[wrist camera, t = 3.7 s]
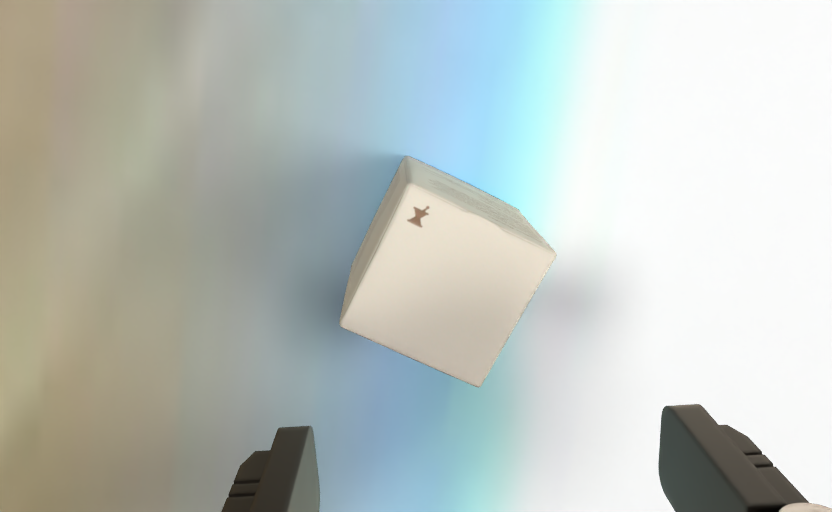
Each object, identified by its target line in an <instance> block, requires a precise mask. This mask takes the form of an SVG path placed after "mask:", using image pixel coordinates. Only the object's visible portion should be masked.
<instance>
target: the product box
mask: <svg viewBox="0 0 832 512" xmlns="http://www.w3.org/2000/svg"><path fill="white" fill-rule="evenodd" d="M556 256H557V255H556V253H555V251H554V250H553V249H552V248H551V247H550V245H549V244H548V243H547V242H546V241H545V240H544V238H543V237H542V236H541V235H540V234H539V233H538V232H537V231H536V230H535V229H534V228H533V226H532V225H531V224H530V223H529V222H528V221H527V220H526V218H525V217H524V216H523V215H522V214H521V213H520V211H519V210H518V209H517V208H515V207H513V206H511V205H509V204H507V203H506V202H504V201H502V200H500V199H498V198H496V197H494V196H492V195H490V194H488V193H486V192H484V191H482V190H480V189H478V188H476V187H474V186H472V185H470V184H468V183H465V182H463V181H461V180H459V179H457V178H455V177H453V176H451V175H449V174H447V173H444V172H442V171H440V170H438V169H436V168H434V167H432V166H430V165H427V164H425V163H423V162H421V161H419V160H416V159H414V158H412V157H410V156H405V157H404V158H403V160H402V162H401V164H400V166H399V168H398V170H397V172H396V174H395V176H394V178H393V180H392V182H391V184H390V186H389V188H388V190H387V192H386V194H385V196H384V198H383V200H382V202H381V204H380V206H379V208H378V210H377V212H376V214H375V216H374V218H373V220H372V223H371V225H370V227H369V229H368V231H367V233H366V235H365V238H364V240H363V242H362V244H361V246H360V248H359V250H358V252H357V255H356V257H355V259H354V261H353V263H352V265H351V271H350V276H349V279H348V283H347V288H346V293H345V297H344V302H343V307H342V311H341V316H340V321H339V324H340V326H341V327H342V328H344V329H346V330H349V331H351V332H353V333H356V334H358V335H360V336H362V337H365V338H367V339H369V340H371V341H373V342H376V343H378V344H380V345H382V346H385V347H387V348H389V349H391V350H394V351H396V352H398V353H400V354H402V355H405V356H407V357H409V358H411V359H414V360H416V361H418V362H421V363H423V364H425V365H427V366H430V367H432V368H434V369H437V370H439V371H441V372H443V373H446V374H448V375H450V376H453V377H455V378H457V379H460V380H462V381H464V382H467V383H469V384H471V385H473V386H476V387H480V386H481V385H482V383H483V381H484V380H485V378H486V376H487V375H488V373H489V371H490V369H491V368H492V366H493V364H494V362H495V360H496V359H497V357H498V355H499V354H500V352H501V350H502V348H503V347H504V345H505V343H506V341H507V340H508V338H509V336H510V334H511V332H512V331H513V329H514V327H515V325H516V324H517V322H518V320H519V319H520V317H521V315H522V313H523V312H524V310H525V308H526V306H527V305H528V303H529V301H530V300H531V298H532V296H533V294H534V293H535V291H536V289H537V288H538V286H539V284H540V282H541V281H542V279H543V277H544V276H545V274H546V272H547V271H548V269H549V267H550V266H551V264H552V262H553V261H554V259H555V258H556Z"/></svg>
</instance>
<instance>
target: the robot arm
mask: <svg viewBox="0 0 832 512" xmlns="http://www.w3.org/2000/svg"><path fill="white" fill-rule="evenodd" d="M659 476H660V481H661V485H662V488H663V491H664V493H665V495H666V497H667V499H668V500H669V502H670V503H671V505H672V507H673V508H674V510H675V512H832V509H831V508H828V507H825V506H822V505H818V504H812V503H809V502H808V501H807V500H806V499H805V498H804V497H803V496H802V495H801V493H800V492H799V491H798V490H797V489H796V488H795V487H794V486H793V485H792V484H791V483H790V482H789V481H788V480H787V478H786V477H785V476H784V475H783V474H782V473H781V472H780V471H779V470H778V469H777V468H776V467H773V463H772V462H771V461H770V460H769V459H768V458H767V457H766V456H765V455H762V452H761V450H760V449H759V448H758V447H757V446H756V445H755V444H754V443H753V442H752V441H751V440H750V439H749V438H748V437H747V436H745V435H744V434H742V433H740V432H738V431H737V430H735V429H733V428H731V427H730V426H728V425H718V424H717V423H716V421H715V420H714V419H713V418H712V417H711V416H710V415H709V413H708V412H707V411H706V410H705V409H704V408H703V407H702V406H701V405H699V404H694V405H676V406H665V407H664V409H663V411H662V417H661V434H660V450H659ZM319 507H320V487H319V477H318V468H317V459H316V450H315V442H314V434H313V429H312V427H311V426H300V427H282V428H278V430H277V433H276V436H275V439H274V441H273V444H272V447H271V450H269V451H255V452H254V453H253V454H252V455H251V456H250V457H249V458H248V459H247V460H246V461H245V462H244V463H243V464H242V465H241V466H240V468H239V470H238V473H237V475H236V478H235V480H234V484H233V485H232V487H231V490H230V492H229V497H228V498H227V499H226V502H225V504H224V507H223V509H222V512H319Z"/></svg>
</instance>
